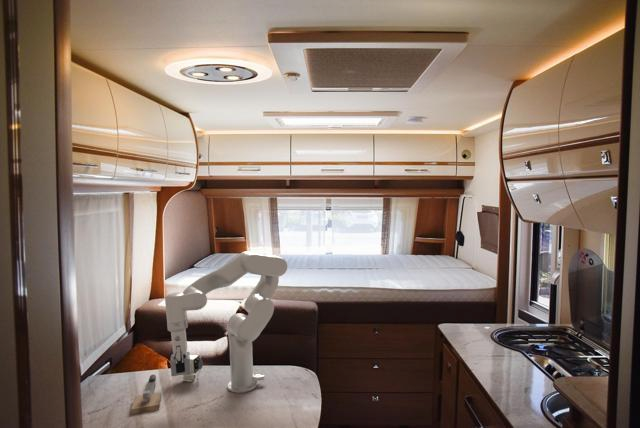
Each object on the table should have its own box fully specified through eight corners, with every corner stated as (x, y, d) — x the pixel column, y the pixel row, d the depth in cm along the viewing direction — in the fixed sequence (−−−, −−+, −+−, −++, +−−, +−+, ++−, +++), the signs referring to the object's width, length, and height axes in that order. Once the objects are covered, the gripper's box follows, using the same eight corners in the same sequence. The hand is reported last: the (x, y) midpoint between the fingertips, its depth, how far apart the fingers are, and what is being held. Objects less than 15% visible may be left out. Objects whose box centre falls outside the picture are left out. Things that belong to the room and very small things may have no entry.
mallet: (164, 378, 185) (164, 367, 185) (159, 409, 159) (158, 395, 159) (141, 382, 182) (140, 370, 182) (131, 414, 156) (130, 400, 156)
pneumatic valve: (198, 383, 180) (197, 357, 179) (174, 382, 182) (173, 355, 181) (204, 378, 185) (203, 352, 184) (181, 376, 187) (180, 350, 187)
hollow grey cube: (190, 365, 166) (189, 351, 166) (190, 373, 160) (189, 358, 159) (172, 368, 165) (171, 354, 164) (171, 376, 158) (170, 361, 157)
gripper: (186, 330, 153) (190, 376, 155) (187, 316, 170) (191, 357, 171) (165, 333, 151) (169, 379, 153) (168, 319, 168) (172, 360, 169)
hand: (181, 367), depth 162 cm, fingers closed on hollow grey cube, 7 cm apart
